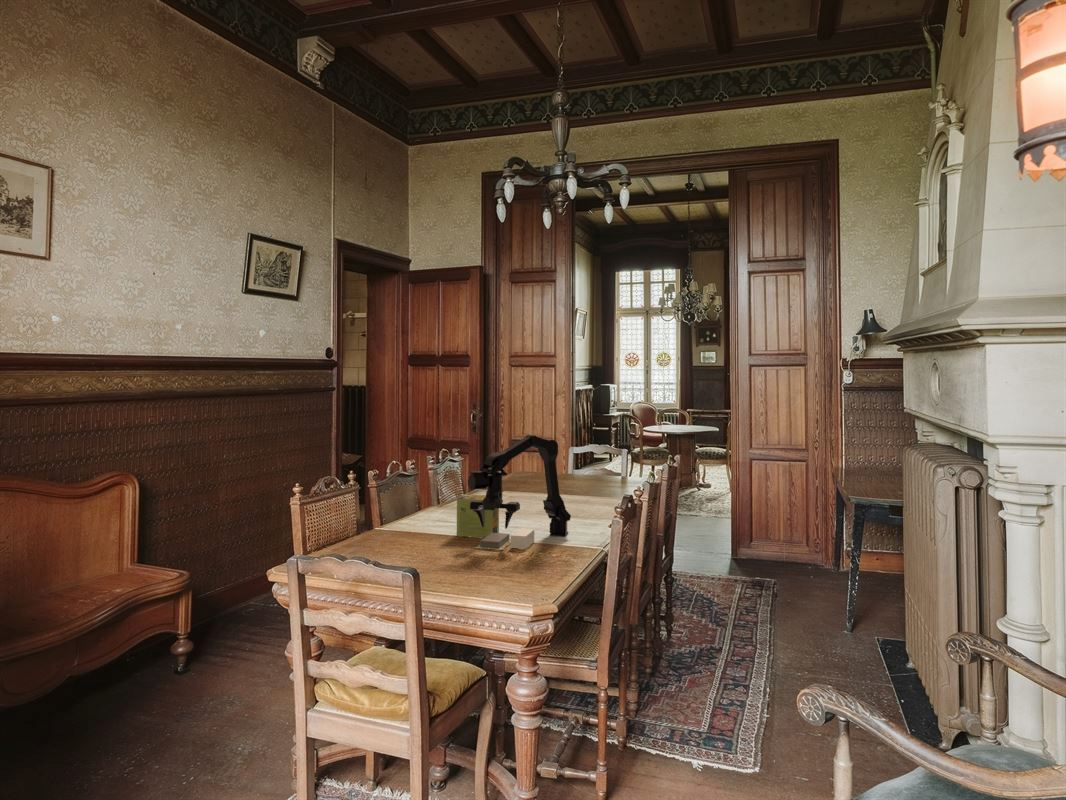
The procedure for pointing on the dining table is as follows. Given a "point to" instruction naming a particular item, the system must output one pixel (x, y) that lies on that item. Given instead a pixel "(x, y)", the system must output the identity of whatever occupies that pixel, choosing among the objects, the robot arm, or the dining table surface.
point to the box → (522, 538)
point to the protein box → (475, 518)
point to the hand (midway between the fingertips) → (494, 527)
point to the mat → (495, 548)
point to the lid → (494, 540)
